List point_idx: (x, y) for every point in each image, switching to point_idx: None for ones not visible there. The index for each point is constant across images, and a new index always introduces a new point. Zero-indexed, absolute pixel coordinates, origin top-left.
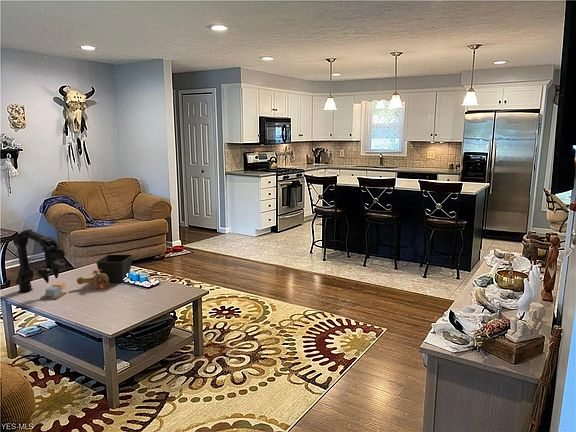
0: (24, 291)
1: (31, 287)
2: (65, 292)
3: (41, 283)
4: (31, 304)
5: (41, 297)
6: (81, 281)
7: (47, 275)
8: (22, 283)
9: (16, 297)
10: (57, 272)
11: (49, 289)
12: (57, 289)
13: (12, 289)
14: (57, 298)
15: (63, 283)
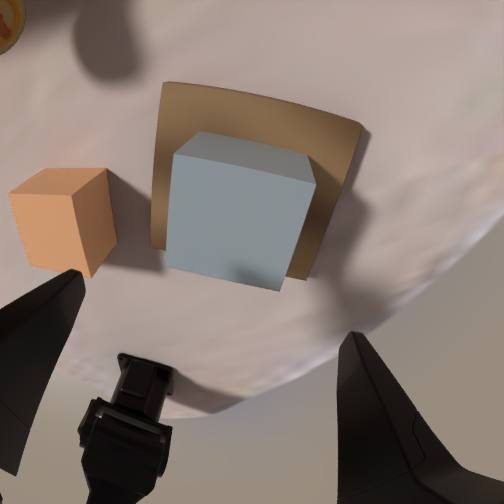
0: (165, 378)
1: (128, 370)
2: (172, 89)
3: None
4: (410, 287)
5: (306, 271)
6: (2, 6)
7: (475, 475)
8: (162, 426)
9: (246, 386)
10: (3, 350)
11: (277, 253)
12: (239, 160)
13: None
14: (337, 116)
15: (31, 193)
